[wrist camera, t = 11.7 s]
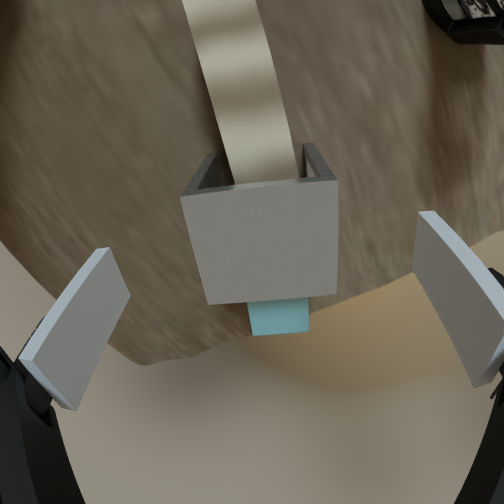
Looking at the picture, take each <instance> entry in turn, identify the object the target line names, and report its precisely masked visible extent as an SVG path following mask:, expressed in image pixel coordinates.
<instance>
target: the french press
mask: <svg viewBox="0 0 504 504" xmlns="http://www.w3.org/2000/svg"><path fill="white" fill-rule="evenodd" d="M422 1H423V4H424V6H425V8H426V10H427V12H428V14H429V15H430V17H431V18H432V20H433V21H434V22H435V23H436V24H437V25H438V26H439V27H440V28H441V29H442V30H443V31H444V32H446V34H447V35H448V36H449V37H450V38H451V39H452V40H453V41H455V42H456V43H457V44H459V45H461V44H490V45H504V0H457V1H458V3H459V5H460V7H461V8H462V10H463V12H464V13H465V14H466V16H467V17H468V18H467V19H460V20H453V19H452V18H451V17H450V15H449V14H448V13H447V11H446V9H445V8H444V6H443V4H442V2H441V0H422Z"/></svg>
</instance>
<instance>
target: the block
mask: <svg viewBox="0 0 504 504" xmlns="http://www.w3.org/2000/svg"><path fill="white" fill-rule="evenodd" d="M247 306H248V311H249V317H250V322H251V327H252V332H253V336H259V335H272V334H285V333H297V332H308V331H309V309H308V297H303V298H292V299H280V300H268V301H255V302H247Z"/></svg>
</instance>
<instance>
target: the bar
mask: <svg viewBox="0 0 504 504" xmlns="http://www.w3.org/2000/svg"><path fill="white" fill-rule="evenodd" d="M182 2H183V5H184V8H185V12H186V15H187V19H188V22H189V26H190V29H191V33H192V36H193V39H194V43H195V46H196V50H197V53H198V57H199V60H200V64H201V67H202V71H203V74H204V78H205V81H206V84H207V88H208V91H209V95H210V98H211V102H212V105H213V109H214V112H215V116H216V119H217V123H218V126H219V130H220V133H221V137H222V140H223V144H224V147H225V151H226V154H227V158H228V161H229V165H230V168H231V172H232V175H233V178H234V182H235V185H238V184H246V183H255V182H265V181H275V180H285V179H296V178H299V174H298V169H297V164H296V159H295V154H294V150H293V145H292V141H291V136H290V131H289V127H288V123H287V118H286V114H285V110H284V105H283V101H282V97H281V93H280V89H279V85H278V81H277V77H276V73H275V69H274V65H273V61H272V58H271V54H270V50H269V46H268V43H267V39H266V36H265V32H264V29H263V25H262V22H261V18H260V15H259V11H258V8H257V5H256V1H255V0H182Z"/></svg>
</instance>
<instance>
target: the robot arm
mask: <svg viewBox="0 0 504 504" xmlns="http://www.w3.org/2000/svg"><path fill="white" fill-rule="evenodd" d="M411 268H412V270H413V272H414V273H415V275H416V277H417V278H418V280H419V282H420V283H421V285H422V287H423V289H424V290H425V292H426V294H427V296H428V297H429V299H430V301H431V303H432V304H433V306H434V308H435V310H436V312H437V313H438V315H439V317H440V319H441V321H442V323H443V325H444V326H445V329H446V330H447V332H448V334H449V336H450V338H451V340H452V342H453V344H454V346H455V348H456V351H457V353H458V355H459V357H460V359H461V361H462V363H463V365H464V367H465V370H466V372H467V374H468V376H469V379H470V381H471V383H472V385H473V388H477V387H480V386H482V385H485V384H487V383H490V382H492V381H493V379H494V377H495V376H496V374H497V372H498V371H500V373H501V375H502V377H503V378H502V380H501V382H500V383H499V384H498V386H497V387H496V389H495V390H494V392H493V393H492V395H491V397H490V399H493V397H494V396H495V395H496V398H495V402H494V405H493V409H492V413H491V415H490V418H489V422H488V425H487V428H486V431H485V433H484V436H483V439H482V442H481V444H480V447H479V450H478V452H477V455H476V457H475V460H474V462H473V464H472V467H471V469H470V472H469V474H468V476H467V478H466V480H465V483H464V484H463V487H462V489H461V491H460V493H459V495H458V497H457V499H456V501H455V502H454V504H504V276H503V275H502V274H500V273H499V272H497V271H496V270H494V269H493V268H486V267H485V266H484V264H483V263H482V262H481V261H480V260H479V258H478V257H477V256H476V255H475V254H474V253H473V252H472V250H471V249H470V248H469V247H468V246H467V245H466V244H465V243H464V242H463V240H462V239H461V238H460V237H459V236H458V235H457V234H456V233H455V232H454V231H453V230H452V229H451V228H450V227H449V226H448V225H447V224H446V223H445V222H444V220H443V219H442V218H441V217H440V216H439V215H438V214H437V213H436V212H435V211H423V212H418V219H417V228H416V237H415V246H414V253H413V260H412V267H411ZM129 298H130V293H129V291H128V289H127V287H126V285H125V282H124V280H123V278H122V275H121V273H120V271H119V268H118V266H117V264H116V261H115V259H114V256H113V254H112V251H111V249H110V247H107V248H100V249H96V250H95V251H94V253H93V254H92V255H91V256H90V258H89V259H88V260H87V261H86V263H85V264H84V265H83V266H82V268H81V269H80V270H79V271H78V273H77V274H76V275H75V277H74V278H73V279H72V280H71V282H70V283H69V284H68V286H67V287H66V288H65V290H64V291H63V292H62V294H61V295H60V297H59V298H58V299H57V301H56V302H55V303H54V305H53V306H52V308H51V309H50V311H49V312H48V313H47V315H46V316H45V317H44V318H43V319H42V320H41V321H40V323H39V324H38V326H37V327H36V330H34V332H33V333H32V335H31V337H30V338H29V339H28V341H27V342H26V344H25V345H24V347H23V349H22V350H21V352H20V353H19V355H18V357H17V358H16V360H15V362H14V363H13V362H12V360H11V359H10V358H9V357H8V355H7V354H6V353H5V351H4V350H3V349H2V348H1V346H0V504H85V501H84V499H83V497H82V494H81V492H80V489H79V487H78V484H77V481H76V479H75V476H74V474H73V471H72V468H71V465H70V462H69V459H68V456H67V453H66V449H65V446H64V443H63V440H62V436H61V433H60V429H59V425H58V421H57V417H56V413H55V410H54V408H53V407H52V406H51V405H50V403H51V401H52V399H54V400H55V401H56V402H57V403H58V405H60V407H61V408H65V409H69V410H74V411H77V408H78V406H79V404H80V401H81V399H82V396H83V394H84V392H85V390H86V387H87V385H88V382H89V380H90V378H91V376H92V374H93V371H94V369H95V367H96V365H97V363H98V361H99V358H100V356H101V354H102V352H103V350H104V348H105V346H106V344H107V342H108V340H109V338H110V336H111V333H112V331H113V329H114V327H115V325H116V323H117V321H118V319H119V317H120V315H121V314H122V312H123V310H124V308H125V306H126V304H127V302H128V300H129ZM496 393H497V394H496Z"/></svg>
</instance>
